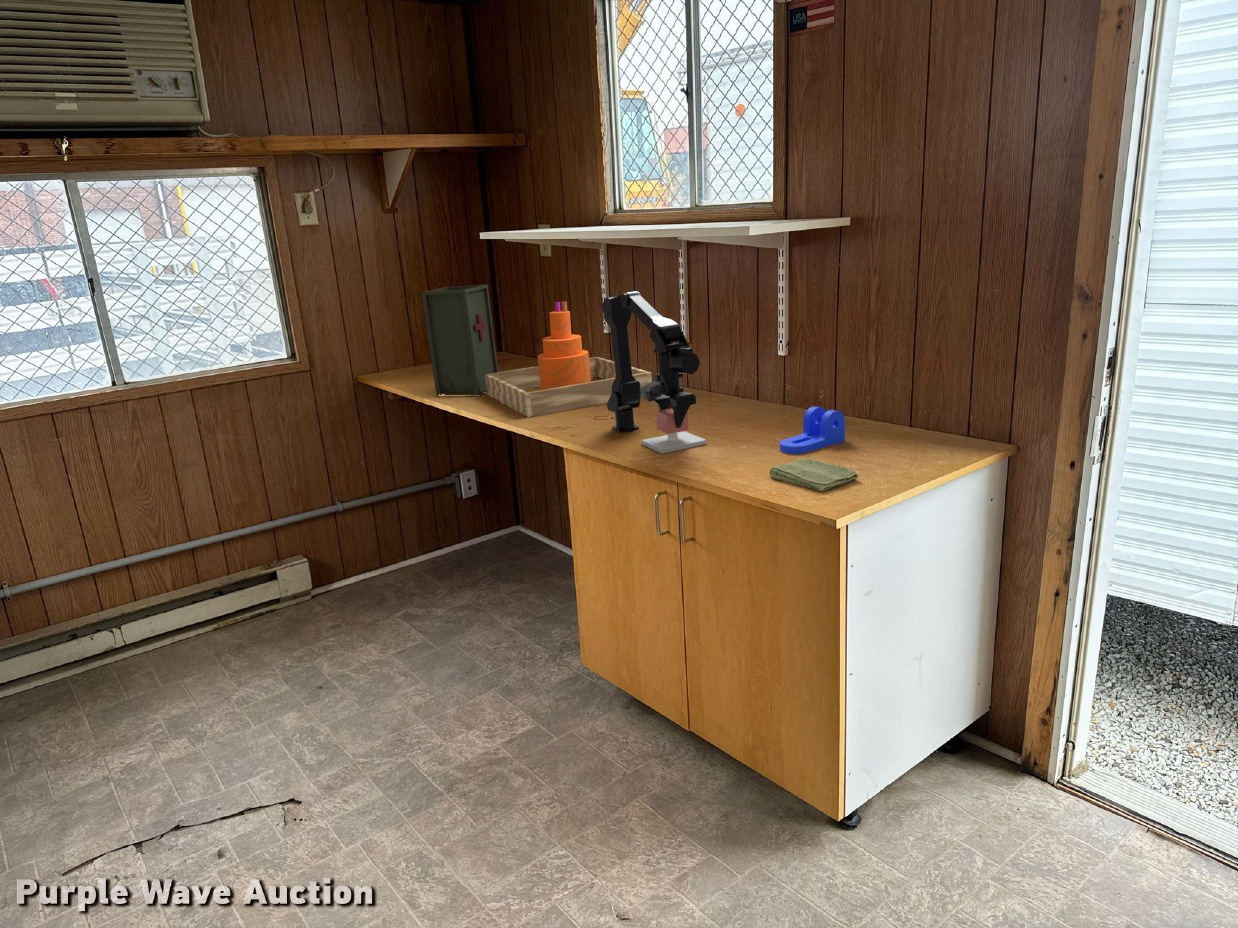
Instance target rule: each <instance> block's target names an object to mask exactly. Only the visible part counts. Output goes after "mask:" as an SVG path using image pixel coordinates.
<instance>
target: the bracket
mask: <svg viewBox="0 0 1238 928" xmlns="http://www.w3.org/2000/svg"><path fill="white" fill-rule="evenodd" d="M802 421H803V422H802V423H803V429H802V432H801V434H798V435H795V436H791V437H788V438H785V439H782V440H780V441H779V451H780V452H782V453H785V454H793V455H794V454H795V455H797V454H799V455H800V454H805V453H809V452H812V451H816V450H819V449H823V448H826V447H829V446H832V445H836V444H840V443H843V442H845V441H846V418H845V416H844V414H843V413H842V411H839V410H834V409H829V410H827V411H826V409H824V408H823V407H820V406H814V405H813V406H811V407H809V408H808V409H807V410H806V411H805V413H804V416H803V419H802Z"/></svg>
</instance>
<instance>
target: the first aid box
mask: <svg viewBox="0 0 1238 928" xmlns="http://www.w3.org/2000/svg"><path fill="white" fill-rule="evenodd" d="M488 285H489V284H481V285H480V284H479V285H475V284H474V285H461V286H444V287H441V288H437V289H431V290H428V291H427V290H426V291H422V292H421V300H422V307H423V312H424V321H425V325H426V333H427V339H428V347H429V353H430V360H431V361H430V362H431V368H432V374H433V375H432V376H433V380H434V387H435V395H439V394H440V395H441V394H445V395H481V394H482V393H484V392H487V389H486V381H485V374H491V373H498V372H499V365H498V358H497V357H498V356H497V350H496V349H497V348H496V344H495V333H494V326H493V317H492V309H491V302H490V295H489V286H488ZM481 396H482V395H481Z"/></svg>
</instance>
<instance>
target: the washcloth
mask: <svg viewBox="0 0 1238 928" xmlns="http://www.w3.org/2000/svg"><path fill="white" fill-rule="evenodd" d="M769 476H770V477H771V478H772V479H775V480H778V481H781V482H783V483H788V484H791V485H795V486H801V487H803V488H808V489H811V490H815V491H816V492H822V493H823V492H826V491H828V490H830V489H832V488H836V487H838V486H839V487H840V486H843V485H844V484H846V483H848V482H851V481H852V480H856V479H857V478H858V477H859V474H858V473H857V472H856V471H854V470H851V469H850V468H847V467H844V466H840V465H835V464H831V463H826V462H823V461H820V460H817V459H812V458H801V459H800V458H799V459H796V460H793V461H792V462H791V461H790V463H786V464H785V463H783V464H779V465H776V466H773V467H771V468H770V470H769Z"/></svg>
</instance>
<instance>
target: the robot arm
mask: <svg viewBox="0 0 1238 928" xmlns="http://www.w3.org/2000/svg"><path fill="white" fill-rule="evenodd" d="M601 312H602V314H603V319H604V321H605V322H606V324H607V325H608V326H609V329H610V334H611V335H610V336H611V344H612V352H613V361H614V364H615V373H616V377H615V380H614V382H613V384H612V395H611V396H610V398H609V400H608V402H607V403H606V408H607V410H608V411H610V412H613V413H614V422H615V425H612V426H611V429H613V430H614V431H617V432H619V433H623V432H628V431H633V430H638V429H640V426H638V425H637V424H635V416H634V409H636V408H640V403H641V398H642V399H643V401H645V400H646V401H647V402H649V403H650V402H654V403H655V404H656V405H657V406H658V410H663V409H668V408H671V409H672V410H673V412H674V418H675V424H676V428H680V427H681V425H682V422H683V420H684V417H685V415H686V413H688V410H689V409H690V407H691V406H692V405H696V404H697V403H698V401H697V400H698V399H697V395H696V394H694V393H693V392H689V391H684V390H685V389H684V387H681V378H682V377H683V376H684V374H686V375H694V374H695V373H696V372H697V371H698V370H699V368H700V359H699V356H698V355H697V354H696V353H694V351H693V348H692V347H690V344H689V343H688V340H687V338H686V337H685V334H684V332H683V331H682V328H681V326H680V325H679V324H678V323H677V322H676V321H674V320H673V319H671V318H667V317H665V316H664V317H663V316H662V315H661V314H660V313H659V312H658V311H656V309H655V308H654V307H653V306H651V304H650V303H648V301H646V299H645V298H644V297H642V294H641V293H640V292H639V291H628V292H623V293H622V294H621V295H617V296H612V297H611V296H609V297H606V298H605V299H604V300H603V302H601ZM633 315H634V316H635V317H636V319H638V320H639V321H640V322H641V323H642V324H643V325H644V326H645V327H646V328H647V329H648V336H649V338H650V339H651V341H652V342H653V343H654V345H656V346H655V347H654V349H653V350H652V352H653V353H654V354H657V366H658V367H657V368H658V370H657V371H658V373H655V376H654V378H655V379H654V380H652V382H650V383H648V384H647V385H645V386H643V387H642V388H640V382H639V381H636V379H635V378H634V377H633V375H632V367H633V366H632V360H631V350H630V349H631V347H630V339H629V330H628V329H629V328H628V327H629V326H628V325H629V324H630V322H631V319H632V317H633ZM641 394H642V397H641Z"/></svg>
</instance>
